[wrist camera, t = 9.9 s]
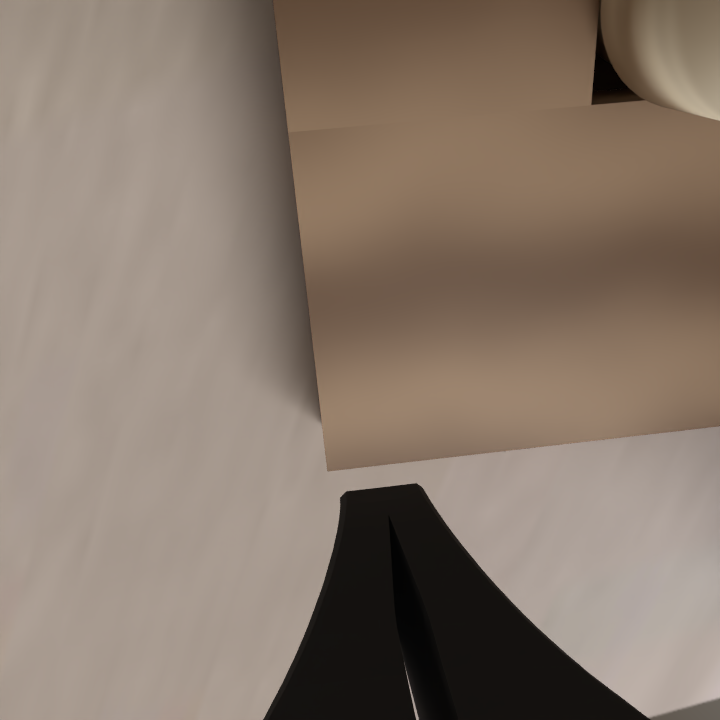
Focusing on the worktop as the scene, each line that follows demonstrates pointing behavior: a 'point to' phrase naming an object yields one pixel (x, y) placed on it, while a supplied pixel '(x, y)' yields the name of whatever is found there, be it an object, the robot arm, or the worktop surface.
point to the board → (494, 232)
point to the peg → (665, 51)
